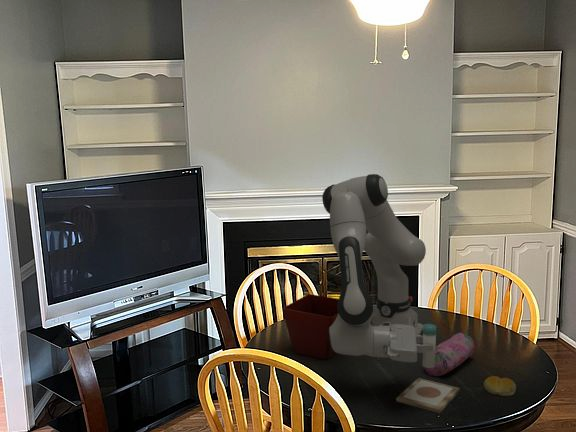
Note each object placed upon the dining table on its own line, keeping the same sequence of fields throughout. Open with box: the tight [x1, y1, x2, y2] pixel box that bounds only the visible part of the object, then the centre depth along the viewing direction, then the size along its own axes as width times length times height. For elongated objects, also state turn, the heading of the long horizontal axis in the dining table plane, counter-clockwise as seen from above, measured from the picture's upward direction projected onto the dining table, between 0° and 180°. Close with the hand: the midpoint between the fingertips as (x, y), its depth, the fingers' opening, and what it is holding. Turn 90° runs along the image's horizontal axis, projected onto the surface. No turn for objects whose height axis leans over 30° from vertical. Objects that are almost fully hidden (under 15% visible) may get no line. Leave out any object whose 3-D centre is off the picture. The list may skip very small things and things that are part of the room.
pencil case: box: [424, 332, 476, 377], centre depth 198 cm, size 21×9×9 cm, turn 137°
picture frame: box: [395, 377, 461, 414], centre depth 178 cm, size 16×13×1 cm
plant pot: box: [282, 293, 339, 360], centre depth 212 cm, size 19×19×17 cm
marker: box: [421, 323, 437, 368], centre depth 175 cm, size 4×4×12 cm
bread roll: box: [483, 375, 517, 397], centre depth 181 cm, size 8×9×4 cm
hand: (432, 344), depth 175 cm, fingers closed on marker, 4 cm apart
